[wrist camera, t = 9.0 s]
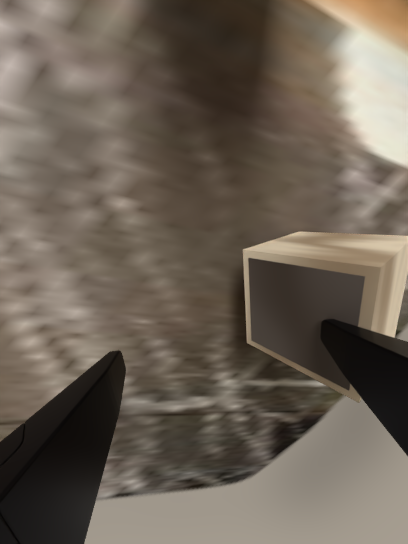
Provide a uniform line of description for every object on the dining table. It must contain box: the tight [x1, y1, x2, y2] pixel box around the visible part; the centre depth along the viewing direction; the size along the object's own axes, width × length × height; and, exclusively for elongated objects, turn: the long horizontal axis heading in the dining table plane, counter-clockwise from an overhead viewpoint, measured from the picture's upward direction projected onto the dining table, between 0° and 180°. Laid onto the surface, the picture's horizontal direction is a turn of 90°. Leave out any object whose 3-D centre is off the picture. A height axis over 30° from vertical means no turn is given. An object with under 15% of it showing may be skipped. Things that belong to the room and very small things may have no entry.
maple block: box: [243, 232, 408, 403], centre depth 12 cm, size 6×6×6 cm
